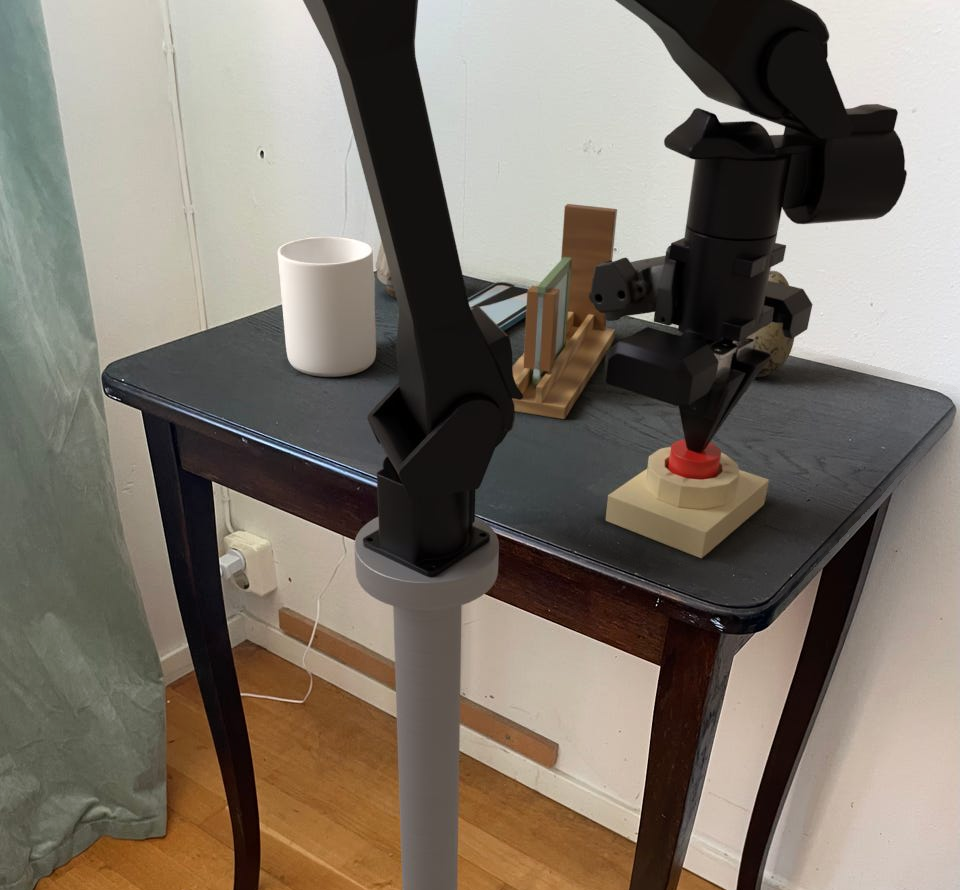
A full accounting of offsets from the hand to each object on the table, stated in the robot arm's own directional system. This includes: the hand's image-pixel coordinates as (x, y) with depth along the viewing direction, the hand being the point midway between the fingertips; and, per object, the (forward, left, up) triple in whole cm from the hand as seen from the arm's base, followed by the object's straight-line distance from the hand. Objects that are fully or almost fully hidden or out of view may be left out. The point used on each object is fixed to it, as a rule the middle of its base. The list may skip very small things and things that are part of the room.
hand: (695, 449), depth 74 cm
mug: (+5, +41, -5) cm, 42 cm away
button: (0, 0, -2) cm, 2 cm away
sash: (+13, +22, -4) cm, 26 cm away
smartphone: (+24, +37, -5) cm, 44 cm away
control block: (0, 0, -5) cm, 5 cm away
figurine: (+23, +48, -6) cm, 54 cm away
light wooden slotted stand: (+17, +23, -5) cm, 29 cm away
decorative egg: (+28, +8, -6) cm, 30 cm away
